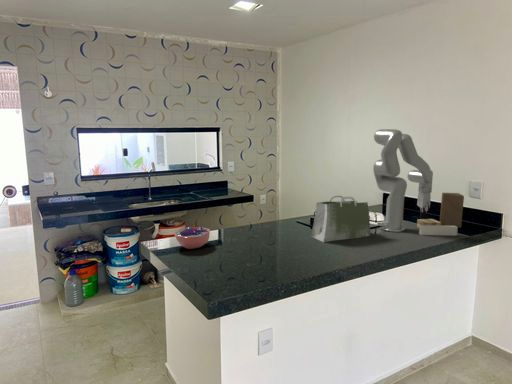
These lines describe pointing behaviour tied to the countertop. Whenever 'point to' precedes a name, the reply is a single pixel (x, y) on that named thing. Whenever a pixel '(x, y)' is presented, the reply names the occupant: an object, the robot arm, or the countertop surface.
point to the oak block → (427, 222)
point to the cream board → (438, 230)
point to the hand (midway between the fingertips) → (423, 218)
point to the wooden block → (451, 209)
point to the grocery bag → (341, 220)
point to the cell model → (192, 237)
